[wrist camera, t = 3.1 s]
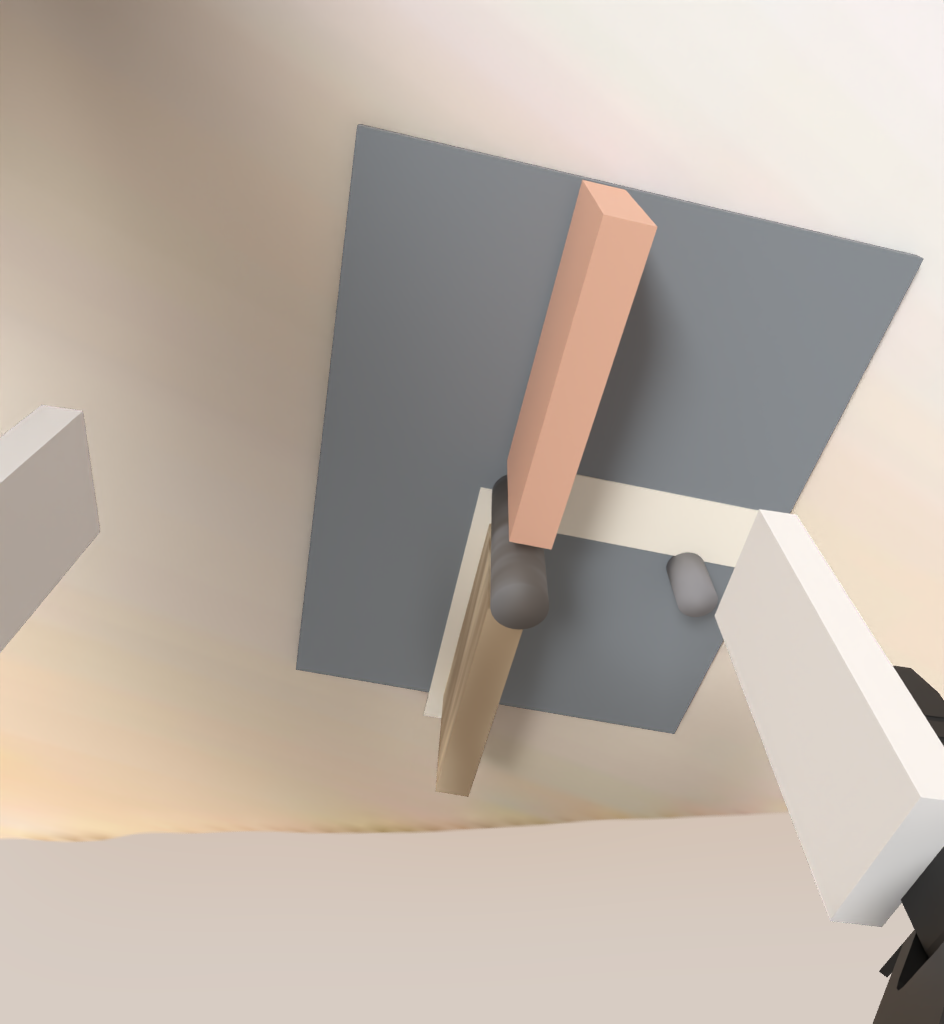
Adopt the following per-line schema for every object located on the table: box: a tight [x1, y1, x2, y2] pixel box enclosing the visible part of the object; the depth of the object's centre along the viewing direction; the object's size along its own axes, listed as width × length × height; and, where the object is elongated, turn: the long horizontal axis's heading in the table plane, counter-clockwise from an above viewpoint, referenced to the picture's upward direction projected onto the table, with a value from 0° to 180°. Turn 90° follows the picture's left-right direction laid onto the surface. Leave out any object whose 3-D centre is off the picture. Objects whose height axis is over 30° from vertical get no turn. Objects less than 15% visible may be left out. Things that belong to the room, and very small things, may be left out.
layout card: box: [296, 124, 923, 734], centre depth 38 cm, size 24×32×4 cm
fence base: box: [436, 475, 549, 797], centre depth 38 cm, size 2×16×9 cm, turn 168°
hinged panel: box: [507, 180, 657, 549], centre depth 30 cm, size 2×13×7 cm, turn 168°
